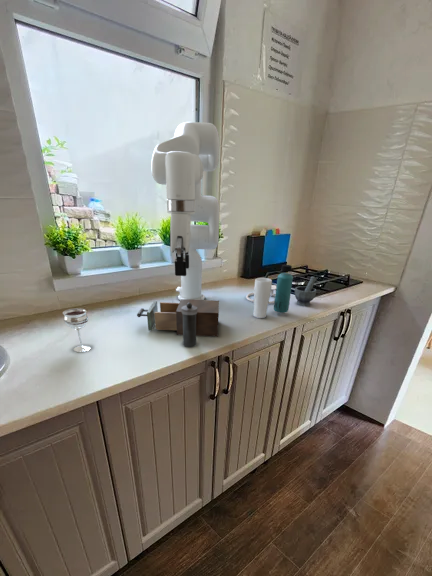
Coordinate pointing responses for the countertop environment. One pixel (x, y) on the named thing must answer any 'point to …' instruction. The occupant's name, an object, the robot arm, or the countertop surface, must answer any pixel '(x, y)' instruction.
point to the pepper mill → (189, 325)
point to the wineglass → (77, 324)
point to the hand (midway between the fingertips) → (182, 271)
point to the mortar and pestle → (305, 293)
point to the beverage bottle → (283, 290)
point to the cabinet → (201, 317)
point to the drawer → (161, 316)
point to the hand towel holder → (270, 295)
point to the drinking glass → (261, 296)
